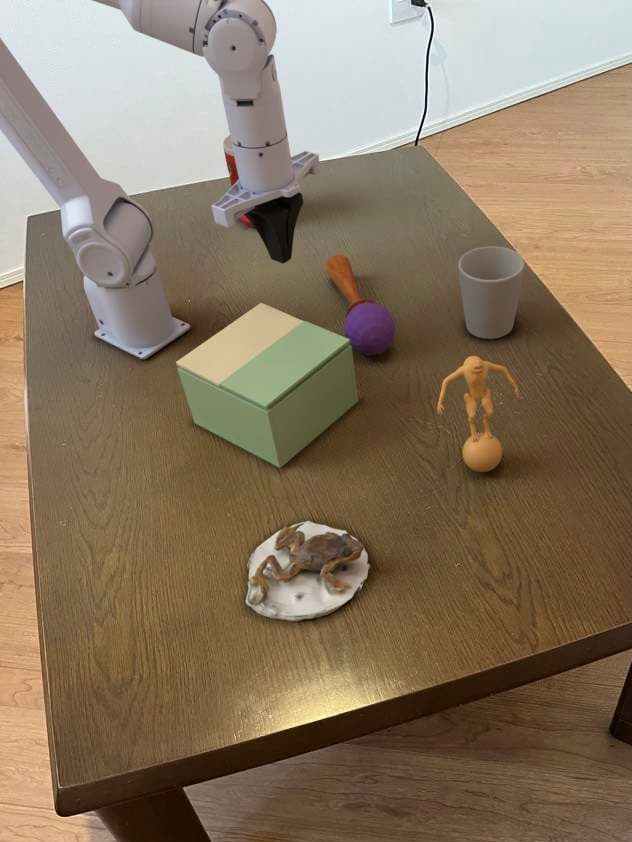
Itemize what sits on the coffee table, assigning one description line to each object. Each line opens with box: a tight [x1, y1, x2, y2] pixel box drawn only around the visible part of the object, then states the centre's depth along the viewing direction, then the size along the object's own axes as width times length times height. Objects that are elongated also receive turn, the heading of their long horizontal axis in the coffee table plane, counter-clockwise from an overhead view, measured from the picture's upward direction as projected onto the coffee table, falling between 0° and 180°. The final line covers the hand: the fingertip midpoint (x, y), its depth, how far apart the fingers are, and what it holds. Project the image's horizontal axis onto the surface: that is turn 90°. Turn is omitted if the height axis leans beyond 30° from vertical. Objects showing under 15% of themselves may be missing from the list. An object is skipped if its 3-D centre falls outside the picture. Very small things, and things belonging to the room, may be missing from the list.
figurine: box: [436, 355, 520, 473], centre depth 81 cm, size 8×6×12 cm
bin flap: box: [175, 302, 305, 387], centre depth 88 cm, size 6×13×1 cm, turn 143°
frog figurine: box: [245, 520, 371, 623], centre depth 76 cm, size 12×12×4 cm
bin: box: [176, 320, 359, 469], centre depth 90 cm, size 13×13×8 cm
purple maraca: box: [325, 253, 396, 357], centre depth 102 cm, size 6×6×20 cm
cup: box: [457, 245, 526, 340], centre depth 99 cm, size 8×10×8 cm
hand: (281, 258), depth 94 cm, fingers closed
